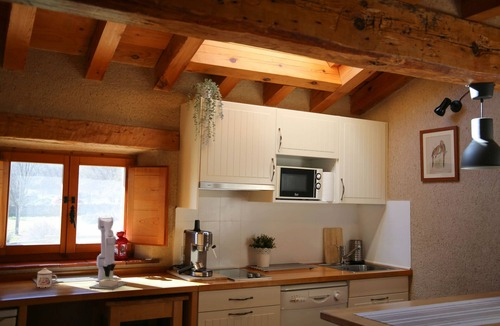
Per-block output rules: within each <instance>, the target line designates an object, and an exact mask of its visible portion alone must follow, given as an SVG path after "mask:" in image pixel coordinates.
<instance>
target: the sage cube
mask: <svg viewBox="0 0 500 326" xmlns="http://www.w3.org/2000/svg"><path fill="white" fill-rule="evenodd" d="M103 279H106V280H111V279H114V270H113V271H110V275H109V277H106V276H105V271H104V272H103Z"/></svg>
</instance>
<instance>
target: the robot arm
mask: <svg viewBox="0 0 500 326" xmlns="http://www.w3.org/2000/svg"><path fill="white" fill-rule="evenodd" d="M97 218H98V219H97V229H98V230H99V231H100V235H101V236H100V242H101V243H100V253H99V255H97V257H96V267H97V269H98V275H97V276H98V277H97V279H96V280H95V282H99V281H101V280H104V279H103V272H104V271H105V276H106V277H109V275H110V271H113V272H114V269H115V267H116V265H117V264H116V263H115V262H116V260H115V247H116V243H117V238H116V236H115V235H114V231H113V230H112V228H113V225H114V217H112V216H110V217H109V216H99V217H97Z"/></svg>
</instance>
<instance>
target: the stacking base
mask: <svg viewBox="0 0 500 326" xmlns="http://www.w3.org/2000/svg"><path fill="white" fill-rule="evenodd" d="M126 285H127V283H126V282H119V279H114V278H113V279H111V280H106V279H104V280H101V281H98V283H97V284H93V285H91V286H89V289H93V290H96V289H97V290H108V291H109V290H110V291H113V290H116V289H118V288H121V287H124V286H126Z"/></svg>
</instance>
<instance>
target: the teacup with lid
mask: <svg viewBox="0 0 500 326" xmlns="http://www.w3.org/2000/svg"><path fill="white" fill-rule="evenodd" d="M36 274H37V276H36V277H37V280H36V287H37V288H39V287H40V288H41V289H45V287H46V288H51V287H52V283H55V282H56V281H57V280H58V276H57V275H56V274H53V271H51V270H49V269H47V267H43V269H41V270H40V271H37V273H36ZM53 277H55V280H53V281H52V279H53Z"/></svg>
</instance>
